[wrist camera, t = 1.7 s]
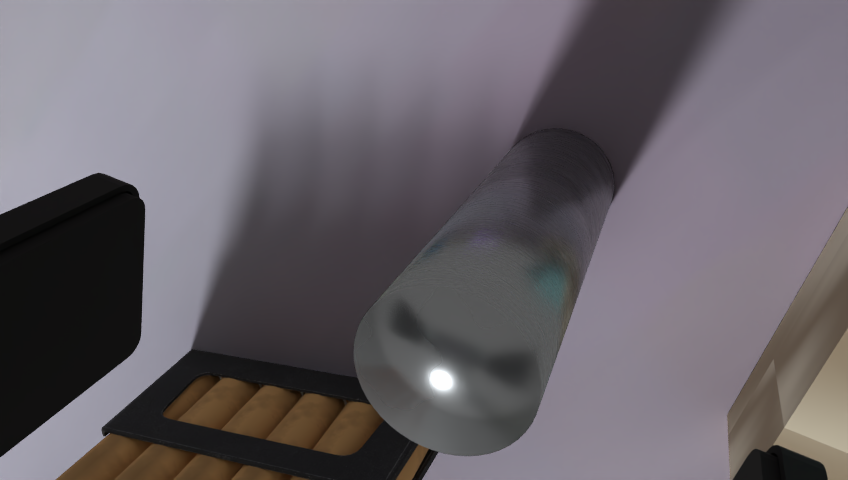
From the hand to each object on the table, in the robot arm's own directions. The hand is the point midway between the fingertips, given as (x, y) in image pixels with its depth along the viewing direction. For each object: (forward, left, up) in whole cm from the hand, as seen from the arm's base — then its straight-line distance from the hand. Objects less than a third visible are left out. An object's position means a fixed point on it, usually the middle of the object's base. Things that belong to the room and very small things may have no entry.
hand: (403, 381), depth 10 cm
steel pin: (-1, 0, -11) cm, 11 cm away
